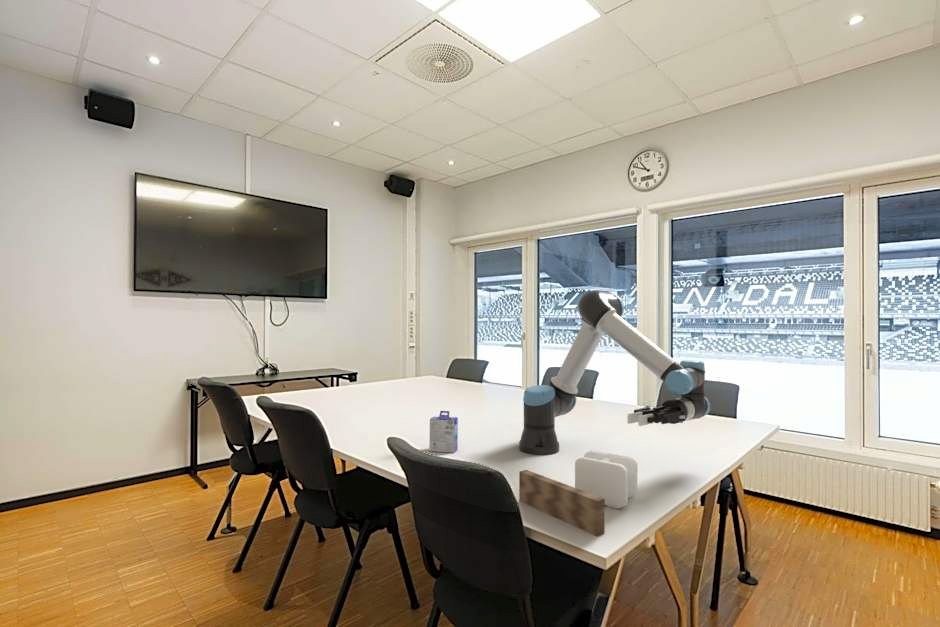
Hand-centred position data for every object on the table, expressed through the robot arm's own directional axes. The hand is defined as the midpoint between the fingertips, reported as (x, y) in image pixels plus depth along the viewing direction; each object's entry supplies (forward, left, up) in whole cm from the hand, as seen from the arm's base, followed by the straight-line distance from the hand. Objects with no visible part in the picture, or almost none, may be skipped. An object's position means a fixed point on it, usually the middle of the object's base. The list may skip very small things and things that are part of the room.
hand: (634, 419), depth 139 cm
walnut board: (0, -32, -20) cm, 38 cm away
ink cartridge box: (-66, -23, -20) cm, 73 cm away
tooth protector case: (0, -14, -20) cm, 24 cm away
